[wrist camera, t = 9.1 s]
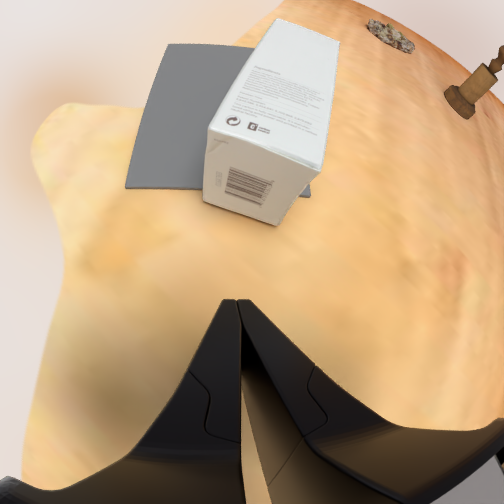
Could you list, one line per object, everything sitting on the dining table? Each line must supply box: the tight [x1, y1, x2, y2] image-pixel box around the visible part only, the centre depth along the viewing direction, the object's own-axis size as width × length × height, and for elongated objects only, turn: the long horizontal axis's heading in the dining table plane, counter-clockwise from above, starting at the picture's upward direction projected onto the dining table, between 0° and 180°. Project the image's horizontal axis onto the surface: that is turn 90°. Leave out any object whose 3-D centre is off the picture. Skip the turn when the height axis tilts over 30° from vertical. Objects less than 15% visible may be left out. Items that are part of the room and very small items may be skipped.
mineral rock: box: [367, 19, 415, 53], centre depth 35 cm, size 11×4×8 cm
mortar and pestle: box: [444, 45, 504, 119], centre depth 25 cm, size 7×6×18 cm
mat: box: [125, 44, 311, 198], centre depth 22 cm, size 20×14×1 cm
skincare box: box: [203, 18, 340, 226], centre depth 18 cm, size 8×6×15 cm
